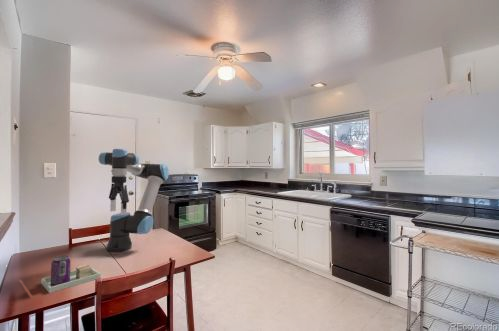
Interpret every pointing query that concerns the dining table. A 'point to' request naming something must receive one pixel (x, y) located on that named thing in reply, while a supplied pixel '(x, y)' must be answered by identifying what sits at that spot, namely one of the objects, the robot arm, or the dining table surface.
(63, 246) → the dining table surface
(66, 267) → the beverage can
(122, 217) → the robot arm
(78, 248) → the dining table surface
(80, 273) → the oak block
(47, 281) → the pale green tray
